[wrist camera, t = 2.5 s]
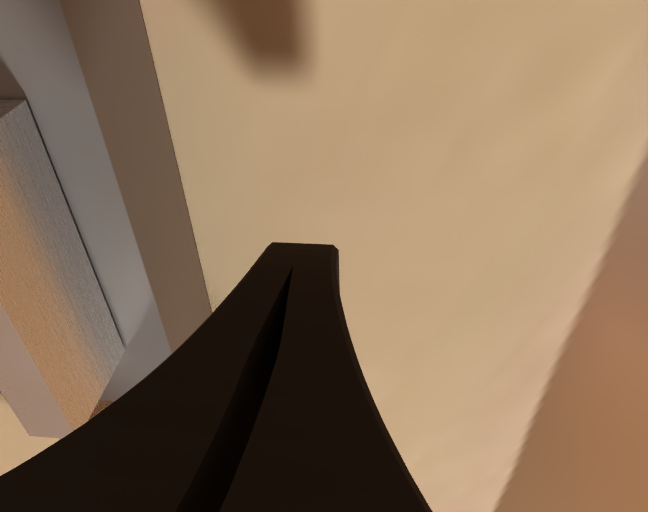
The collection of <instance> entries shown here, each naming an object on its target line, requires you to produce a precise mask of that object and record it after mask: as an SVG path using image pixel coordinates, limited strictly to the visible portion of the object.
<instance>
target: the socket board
mask: <svg viewBox="0 0 648 512" xmlns="http://www.w3.org/2000/svg"><path fill="white" fill-rule="evenodd" d="M0 100H26V102H27V105H28V107H29V110H30V112H31V115H32V117H33V120H34V122H35V125H36V127H37V130H38V132H39V135H40V137H41V140H42V142H43V145H44V148H45V150H46V153H47V155H48V158H49V160H50V163H51V165H52V168H53V170H54V173H55V175H56V178H57V180H58V183H59V185H60V188H61V190H62V193H63V195H64V198H65V200H66V203H67V206H68V208H69V211H70V213H71V216H72V218H73V221H74V223H75V226H76V228H77V231H78V233H79V236H80V238H81V241H82V243H83V246H84V248H85V251H86V253H87V256H88V259H89V261H90V264H91V266H92V269H93V271H94V274H95V276H96V279H97V281H98V284H99V286H100V289H101V291H102V294H103V296H104V299H105V301H106V304H107V306H108V309H109V311H110V314H111V317H112V319H113V322H114V324H115V327H116V329H117V332H118V334H119V337H120V339H121V342H122V344H123V347H124V349H125V352H124V354H123V356H122V358H121V359H120V361H119V363H118V365H117V367H116V369H115V371H114V373H113V375H112V376H111V378H110V380H109V382H108V384H107V386H106V388H105V390H104V392H103V393H102V395H101V397H100V399H99V401H109V402H115V401H116V400H117V399H118V398H120V397H121V396H122V395H124V394H125V393H126V392H127V391H129V390H130V389H131V388H132V387H134V386H135V385H136V384H138V383H139V382H140V381H141V380H142V379H144V378H145V377H146V376H147V375H148V374H150V373H151V372H152V371H153V370H154V369H155V368H157V367H158V366H159V365H160V364H161V363H162V362H163V361H164V360H166V359H167V358H168V357H169V356H170V355H171V354H172V353H173V352H174V351H175V350H176V349H177V348H179V347H180V346H181V345H182V344H183V343H184V342H185V341H186V340H187V339H188V338H189V337H190V336H191V335H192V334H193V333H194V332H195V331H196V330H197V329H198V327H199V326H200V325H201V324H202V323H203V322H204V321H205V320H206V319H207V318H208V317H209V316H210V315H211V314H212V312H211V308H210V303H209V299H208V295H207V291H206V286H205V282H204V278H203V273H202V269H201V265H200V261H199V256H198V252H197V248H196V243H195V239H194V235H193V231H192V226H191V222H190V218H189V213H188V209H187V205H186V201H185V196H184V192H183V188H182V183H181V179H180V175H179V171H178V166H177V162H176V158H175V153H174V149H173V145H172V140H171V136H170V132H169V128H168V123H167V119H166V115H165V110H164V106H163V102H162V98H161V93H160V89H159V85H158V80H157V76H156V72H155V68H154V63H153V59H152V55H151V50H150V46H149V42H148V38H147V33H146V29H145V25H144V20H143V16H142V12H141V8H140V3H139V0H0ZM0 393H1V392H0Z"/></svg>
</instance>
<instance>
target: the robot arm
mask: <svg viewBox="0 0 648 512" xmlns="http://www.w3.org/2000/svg"><path fill="white" fill-rule="evenodd" d="M0 512H432V510H431V509H430V507H429V505H428V504H427V502H426V500H425V499H424V497H423V495H422V493H421V492H420V490H419V488H418V486H417V485H416V483H415V481H414V480H413V478H412V476H411V474H410V473H409V471H408V469H407V467H406V465H405V463H404V461H403V459H402V457H401V455H400V453H399V452H398V450H397V448H396V446H395V444H394V442H393V440H392V438H391V436H390V434H389V432H388V430H387V428H386V426H385V424H384V422H383V420H382V418H381V416H380V413H379V411H378V409H377V407H376V404H375V402H374V400H373V398H372V395H371V393H370V390H369V388H368V386H367V383H366V381H365V378H364V376H363V373H362V370H361V368H360V365H359V362H358V359H357V356H356V353H355V350H354V347H353V344H352V341H351V338H350V334H349V331H348V327H347V324H346V320H345V315H344V311H343V307H342V303H341V298H340V288H339V251H338V249H337V248H336V247H335V246H334V245H326V244H301V243H277V242H272V243H271V244H270V245H269V246H268V247H267V248H266V249H265V251H264V252H263V253H262V255H261V256H260V257H259V258H258V260H257V261H256V262H255V264H254V265H253V266H252V267H251V269H250V270H249V271H248V272H247V274H246V275H245V276H244V277H243V279H242V280H241V281H240V282H239V283H238V285H237V286H236V287H235V288H234V289H233V290H232V292H231V293H230V294H229V295H228V296H227V297H226V298H225V300H224V301H223V302H222V303H221V304H220V305H219V306H218V307H217V309H216V310H215V311H214V312H213V313H212V314H211V315H210V316H209V317H208V318H207V319H206V320H205V321H204V322H203V323H202V324H201V325H200V326H199V327H198V329H197V330H196V331H195V332H194V333H193V334H192V335H191V336H190V337H189V338H188V339H187V340H186V341H185V342H184V343H183V344H182V345H181V346H180V347H179V348H177V349H176V350H175V351H174V352H173V353H172V354H171V355H170V356H169V357H168V358H167V359H166V360H164V361H163V362H162V363H161V364H160V365H159V366H158V367H157V368H155V369H154V370H153V371H152V372H151V373H150V374H148V375H147V376H146V377H145V378H144V379H142V380H141V381H140V382H139V383H138V384H136V385H135V386H134V387H132V388H131V389H130V390H129V391H127V392H126V393H125V394H124V395H122V396H121V397H120V398H118V399H117V400H116V401H115V402H113V403H112V404H111V405H109V406H108V407H107V408H105V409H104V410H103V411H101V412H100V413H99V414H97V415H96V416H95V417H93V418H92V419H90V420H89V421H88V422H86V423H85V424H83V425H82V426H80V427H79V428H77V429H76V430H74V431H73V432H71V433H70V434H68V435H67V436H65V437H64V438H62V439H61V440H59V441H58V442H56V443H54V444H53V445H51V446H50V447H48V448H47V449H45V450H43V451H42V452H40V453H39V454H37V455H36V456H34V457H32V458H31V459H29V460H27V461H26V462H24V463H22V464H21V465H19V466H17V467H16V468H14V469H12V470H10V471H9V472H7V473H5V474H3V475H2V476H0Z"/></svg>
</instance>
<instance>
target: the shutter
mask: <svg viewBox="0 0 648 512" xmlns="http://www.w3.org/2000/svg"><path fill="white" fill-rule="evenodd" d="M124 352H125V349H124V347H123V344H122V342H121V339H120V337H119V334H118V332H117V329H116V327H115V324H114V322H113V319H112V317H111V314H110V311H109V309H108V306H107V304H106V301H105V299H104V296H103V294H102V291H101V289H100V286H99V284H98V281H97V279H96V276H95V274H94V271H93V269H92V266H91V264H90V261H89V259H88V256H87V253H86V251H85V248H84V246H83V243H82V241H81V238H80V236H79V233H78V231H77V228H76V226H75V223H74V221H73V218H72V216H71V213H70V211H69V208H68V206H67V203H66V200H65V198H64V195H63V193H62V190H61V188H60V185H59V183H58V180H57V178H56V175H55V173H54V170H53V168H52V165H51V163H50V160H49V158H48V155H47V153H46V150H45V148H44V145H43V142H42V140H41V137H40V135H39V132H38V130H37V127H36V125H35V122H34V120H33V117H32V115H31V112H30V110H29V107H28V105H27V102H26V100H0V392H1V393H2V395H3V396H4V398H5V399H6V401H7V402H8V404H9V405H10V407H11V408H12V410H13V411H14V413H15V415H16V416H17V418H18V419H19V421H20V422H21V424H22V425H23V427H24V428H25V430H26V431H27V433H28V434H29V436H40V437H51V438H64V437H65V436H67V435H68V434H70V433H71V432H73V431H74V430H76V429H77V428H79V427H80V426H82V425H83V424H85V423H86V422H88V420H89V418H90V416H91V414H92V412H93V410H94V409H95V407H96V405H97V403H98V401H99V399H100V397H101V395H102V393H103V392H104V390H105V388H106V386H107V384H108V382H109V380H110V378H111V376H112V375H113V373H114V371H115V369H116V367H117V365H118V363H119V361H120V359H121V358H122V356H123V354H124Z"/></svg>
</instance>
